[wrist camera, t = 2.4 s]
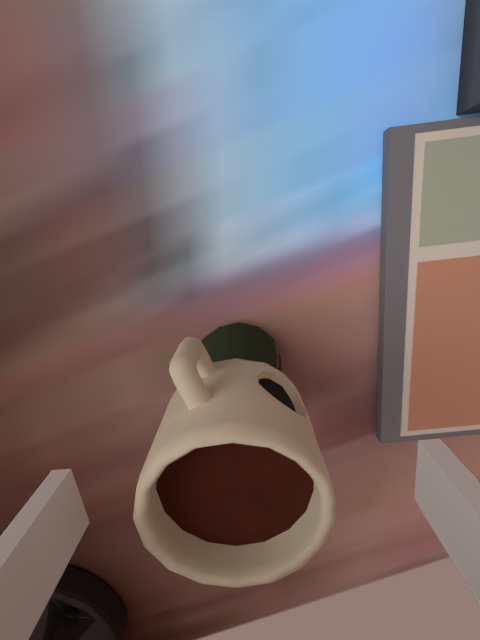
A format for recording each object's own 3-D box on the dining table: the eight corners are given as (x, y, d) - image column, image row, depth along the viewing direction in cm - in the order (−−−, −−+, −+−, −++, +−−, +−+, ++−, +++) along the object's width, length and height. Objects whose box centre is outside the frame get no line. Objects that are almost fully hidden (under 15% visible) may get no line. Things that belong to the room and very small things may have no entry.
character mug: (306, 401, 24) (378, 591, 11) (224, 432, 25) (208, 639, 12) (253, 274, 21) (273, 344, 9) (161, 314, 22) (57, 430, 9)
